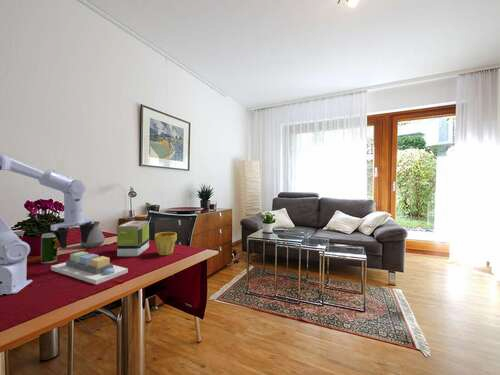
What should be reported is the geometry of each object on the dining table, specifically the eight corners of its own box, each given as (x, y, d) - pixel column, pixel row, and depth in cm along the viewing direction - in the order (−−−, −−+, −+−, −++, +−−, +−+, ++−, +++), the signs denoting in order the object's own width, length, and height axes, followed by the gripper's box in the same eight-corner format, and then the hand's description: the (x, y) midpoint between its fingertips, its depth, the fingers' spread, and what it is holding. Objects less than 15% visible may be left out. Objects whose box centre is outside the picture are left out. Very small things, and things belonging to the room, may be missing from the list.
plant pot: (158, 258, 105) (159, 237, 105) (151, 252, 113) (151, 233, 113) (179, 254, 112) (180, 234, 112) (171, 249, 120) (171, 231, 120)
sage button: (88, 260, 91) (88, 252, 91) (76, 263, 87) (76, 255, 87) (82, 258, 93) (82, 251, 93) (69, 261, 89) (70, 254, 89)
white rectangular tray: (127, 272, 87) (127, 263, 87) (95, 284, 76) (96, 274, 76) (83, 260, 99) (84, 253, 99) (50, 269, 88) (50, 261, 88)
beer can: (39, 264, 93) (39, 235, 93) (42, 260, 97) (42, 233, 97) (56, 262, 96) (56, 234, 96) (58, 258, 100) (58, 232, 100)
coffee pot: (80, 244, 124) (80, 217, 124) (104, 242, 130) (105, 216, 130) (77, 255, 106) (78, 223, 106) (106, 251, 113) (106, 221, 113)
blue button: (98, 262, 89) (98, 255, 89) (86, 266, 85) (86, 258, 85) (91, 261, 90) (91, 253, 90) (79, 264, 86) (79, 256, 86)
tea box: (130, 247, 121) (130, 220, 121) (149, 247, 122) (150, 220, 122) (116, 256, 106) (116, 225, 106) (138, 256, 107) (138, 225, 107)
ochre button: (109, 265, 86) (109, 257, 86) (97, 269, 82) (97, 261, 82) (102, 263, 88) (102, 256, 88) (90, 267, 84) (90, 259, 84)
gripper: (59, 213, 79) (60, 251, 80) (98, 208, 93) (99, 241, 94) (46, 212, 82) (47, 249, 82) (86, 207, 95) (87, 239, 96)
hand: (74, 244), depth 88 cm, fingers open, 7 cm apart
